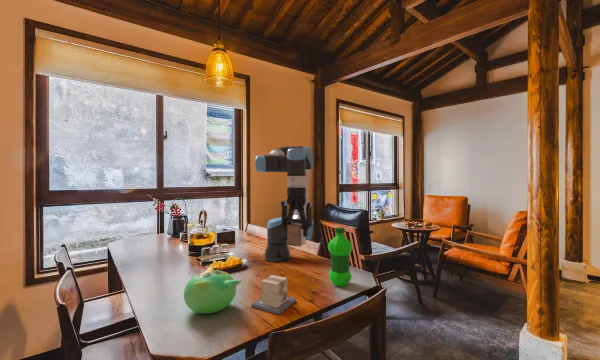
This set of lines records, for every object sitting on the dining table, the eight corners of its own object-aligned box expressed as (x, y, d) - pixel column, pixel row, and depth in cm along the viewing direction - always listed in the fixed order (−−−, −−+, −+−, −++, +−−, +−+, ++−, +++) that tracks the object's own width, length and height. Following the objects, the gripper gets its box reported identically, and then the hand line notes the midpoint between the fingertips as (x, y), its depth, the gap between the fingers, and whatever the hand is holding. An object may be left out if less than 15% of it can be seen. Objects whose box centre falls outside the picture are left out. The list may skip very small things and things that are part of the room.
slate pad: (270, 294, 116) (270, 291, 116) (295, 301, 110) (295, 297, 110) (251, 307, 105) (251, 303, 105) (279, 314, 100) (279, 311, 100)
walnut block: (294, 242, 120) (294, 223, 120) (305, 243, 118) (305, 224, 117) (287, 245, 115) (287, 225, 115) (299, 246, 113) (299, 226, 113)
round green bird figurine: (228, 296, 115) (228, 260, 114) (243, 313, 100) (243, 272, 100) (180, 307, 105) (179, 268, 105) (190, 328, 91) (189, 282, 90)
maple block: (271, 295, 113) (271, 275, 112) (287, 298, 109) (287, 278, 109) (261, 302, 106) (261, 280, 106) (277, 306, 103) (277, 284, 103)
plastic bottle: (337, 278, 134) (337, 225, 134) (356, 284, 127) (356, 228, 126) (323, 284, 127) (323, 228, 127) (342, 291, 120) (342, 231, 119)
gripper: (272, 186, 117) (272, 243, 118) (312, 187, 108) (313, 248, 109) (281, 185, 124) (282, 239, 124) (321, 186, 115) (321, 244, 115)
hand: (296, 243), depth 116 cm, fingers closed on walnut block, 5 cm apart
